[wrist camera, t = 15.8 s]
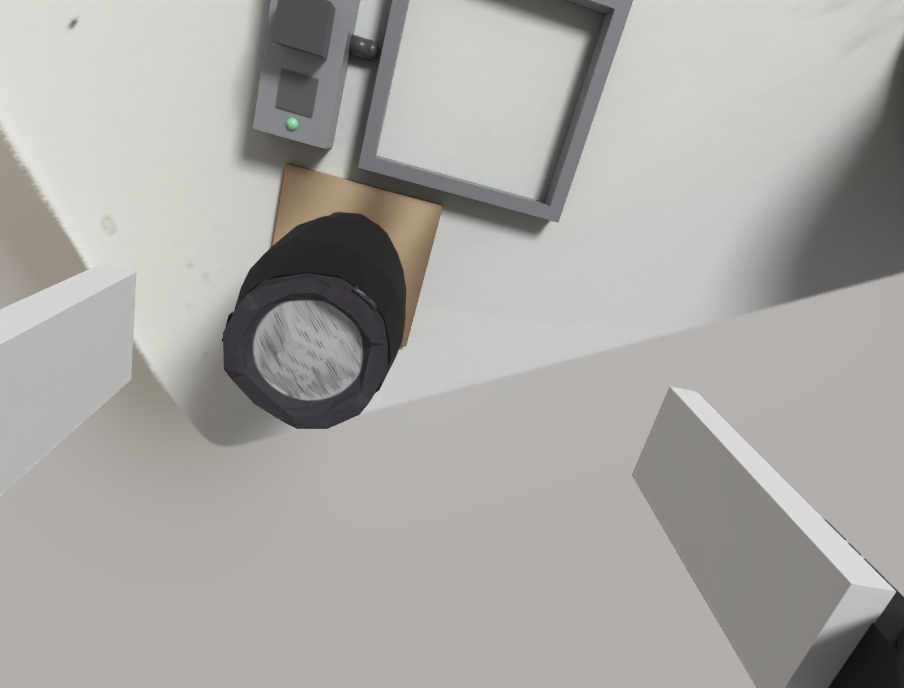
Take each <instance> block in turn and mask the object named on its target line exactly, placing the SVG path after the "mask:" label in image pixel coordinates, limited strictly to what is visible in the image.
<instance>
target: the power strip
mask: <svg viewBox="0 0 904 688" xmlns="http://www.w3.org/2000/svg"><path fill="white" fill-rule="evenodd" d="M359 3H360V0H271V1H270V8H269V16H268V23H267V30H266V37H265V44H264V52H263V59H262V66H261V73H260V80H259V88H258V95H257V102H256V109H255V116H254V124H253V129H255V130H259V131H262V132H266V133H269V134H273V135H277V136H280V137H284V138H288V139H291V140H295V141H298V142H302V143H306V144H309V145H313V146H316V147H320V148H324V149H328V148H331V147H333V141H334V136H335V131H336V125H337V120H338V115H339V109H340V104H341V99H342V93H343V88H344V83H345V77H346V72H347V67H348V61H349V56H350V54H349V45H350V40H351V36H352V35H354V29H355V24H356V19H357V13H358V8H359Z"/></svg>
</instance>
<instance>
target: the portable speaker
mask: <svg viewBox="0 0 904 688" xmlns="http://www.w3.org/2000/svg"><path fill="white" fill-rule="evenodd" d="M405 314H406V283H405V277H404V271H403V267H402V264H401V261H400V258H399V255H398V253H397V251H396V249H395V247H394V245H393V243H392V241H391V239H390V238H389V236H388V234H387V233H386V232H385V231H384V230H383V229H382V228H381V227H380V226H379V225H378V224H377V223H375V222H373V221H371V220H370V219H369V218H367V217H366V216H364V215H363V214H358V213H345V212H337V213H335V212H333V213H332V214H331V215H329V216H323V217H320V218H317V219H314V220H311V221H308V222H305V223H303V224H300V225H297V226H296V227H294V228H293V229H292V230H291V231H290V232H288V233H287V234H286V235H285V236H284V237H282V238H281V239H280V240H279V241H278V242H276V243H275V244H274V245H273V246H272V247H271V248H270V249H269V250H268V251H267V252H266V253H265V254H264V255H263V256H262V257H261V258H260V259H259V260H258V261H257V262H256V264H255V265H254V266H253V267H252V268H251V269H250V270H249V273H248V275H247V277H246V279H245V281H244V283H243V285H242V287H241V290H240V293H239V297H238V300H237V303H236V307H235V310H234V313H233V312H232V313H231V314H230V315H229V316H228V320H227V324H226V328H225V330H224V332H223V339H222V342H223V346H224V370H225V371H226V372H227V374H228V375H229V377H230V378H231V379H232V380H233V381H234V382H235V383H236V384H237V385H238V387H239V388H240V389H241V390H242V391H243V392H244V393H245V394H246V395H247V396H248V397H249V399H250V400H251V401H252V402H253V403H254V404H256V405H257V406H259V407H260V408H262V409H264V410H265V411H267V412H268V413H270V414H272V415H273V416H275V417H276V418H278V419H280V420H281V421H283V422H285V423H287V424H289V425H291V426H293V427H295V428H297V429H328V428H330V427H332V426H335V425H337V424H339V423H341V422H344V421H346V420H348V419H351V418H353V417H355V416H357V415H359V414H360V413H361V412H362V411H363V410H364V408H365V407H366V406H367V405H368V403H369V402H370V400H371V399H372V397H373V395H374V394H375V393H376V392H377V391H379V389H380V387H381V385H382V383H383V381H384V379H385V377H386V375H387V373H388V371H389V369H390V368H391V366H392V364H393V362H394V360H395V358H396V355H397V353H398V350H399V348H400V346H401V343H402V340H403V334H404V328H405Z"/></svg>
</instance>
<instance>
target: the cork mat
mask: <svg viewBox="0 0 904 688" xmlns="http://www.w3.org/2000/svg"><path fill="white" fill-rule="evenodd" d="M442 207H443V206H442V205H440V204H436V203H433V202H429V201H425V200H422V199H418V198H414V197H410V196H407V195H403V194H399V193H396V192H392V191H388V190H384V189H381V188H377V187H373V186H370V185H366V184H362V183H359V182H355V181H351V180H347V179H344V178H340V177H336V176H333V175H329V174H325V173H322V172H318V171H314V170H310V169H307V168H303V167H299V166H296V165H292V164H288V163H287V164H286V165H285V171H284V177H283V184H282V190H281V196H280V202H279V208H278V215H277V221H276V227H275V233H274V239H273V245H274V244H275V243H276V242H278V241H279V240H280V239H281V238H282V237H284V236H285V235H286V234H287V233H288V232H290V231H291V230H292V229H293V228H294V227H296V226H297V225H300V224H303V223H305V222H308V221H311V220H314V219H317V218H320V217H323V216H329V215H331V214H332V213H333V212H335V213H337V212H345V213H358V214H363V215H364V216H366V217H367V218H369V219H370V220H371V221H373V222H375V223H377V224H378V225H379V226H380V227H381V228H382V229H383V230H384V231H385V232H386V233H387V234H388V236H389V238H390V239H391V241H392V243H393V245H394V247H395V249H396V251H397V253H398V255H399V258H400V261H401V264H402V267H403V271H404V277H405V283H406V314H405V328H404V334H403V340H402V343H401V345H402V346H406V344H407V341H408V337H409V333H410V329H411V325H412V322H413V318H414V314H415V310H416V306H417V302H418V299H419V295H420V291H421V287H422V283H423V280H424V276H425V272H426V268H427V264H428V260H429V257H430V253H431V249H432V245H433V241H434V238H435V234H436V230H437V226H438V222H439V219H440V215H441V211H442Z"/></svg>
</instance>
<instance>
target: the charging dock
mask: <svg viewBox="0 0 904 688" xmlns="http://www.w3.org/2000/svg"><path fill="white" fill-rule="evenodd" d="M566 1H569V2H572V3H575V4H578V5H581V6H584V7H587V8H590V9H593V10H595V11H598V12H601V13H604V14H605V17H604V21H603V24H602V27H601V30H600V33H599V36H598V39H597V42H596V45H595V48H594V51H593V55H592V58H591V61H590V64H589V67H588V70H587V73H586V76H585V79H584V82H583V85H582V88H581V92H580V95H579V98H578V101H577V104H576V107H575V110H574V113H573V116H572V119H571V122H570V126H569V129H568V132H567V135H566V138H565V141H564V144H563V147H562V150H561V153H560V156H559V160H558V163H557V166H556V169H555V172H554V175H553V178H552V181H551V184H550V187H549V190H548V193H547V197H546V200H545V203H544V202H541V201H537V200H533V199H530V198H526V197H523V196H519V195H516V194H512V193H508V192H505V191H501V190H498V189H494V188H490V187H487V186H483V185H480V184H476V183H473V182H469V181H465V180H462V179H458V178H455V177H451V176H447V175H444V174H440V173H437V172H433V171H429V170H426V169H422V168H419V167H415V166H412V165H408V164H404V163H401V162H397V161H394V160H390V159H386V158H383V157H379V156H376V154H377V149H378V145H379V140H380V135H381V131H382V126H383V121H384V117H385V112H386V107H387V103H388V98H389V93H390V89H391V84H392V79H393V75H394V70H395V65H396V61H397V56H398V52H399V47H400V42H401V38H402V33H403V28H404V24H405V19H406V14H407V10H408V5H409V0H392V4H391V9H390V13H389V18H388V23H387V28H386V33H385V38H384V43H383V48H382V53H381V57H380V62H379V67H378V72H377V77H376V82H375V87H374V92H373V96H372V101H371V106H370V111H369V116H368V121H367V126H366V131H365V135H364V140H363V145H362V150H361V155H360V160H359V165H358V168H361V169H365V170H368V171H372V172H376V173H379V174H383V175H387V176H390V177H394V178H398V179H401V180H405V181H409V182H412V183H416V184H419V185H423V186H427V187H430V188H434V189H438V190H441V191H445V192H449V193H452V194H456V195H460V196H463V197H467V198H471V199H474V200H478V201H482V202H485V203H489V204H492V205H496V206H500V207H503V208H507V209H511V210H514V211H518V212H522V213H525V214H529V215H533V216H536V217H540V218H544V219H547V220H551V221H554V222H559V219H560V216H561V213H562V210H563V207H564V204H565V201H566V198H567V195H568V192H569V189H570V186H571V183H572V180H573V177H574V174H575V171H576V168H577V165H578V163H579V160H580V157H581V154H582V151H583V148H584V145H585V142H586V139H587V136H588V133H589V130H590V127H591V124H592V121H593V118H594V115H595V112H596V109H597V106H598V103H599V100H600V97H601V94H602V91H603V88H604V85H605V82H606V79H607V76H608V73H609V70H610V67H611V64H612V61H613V58H614V55H615V53H616V50H617V47H618V44H619V41H620V38H621V35H622V32H623V29H624V26H625V23H626V20H627V17H628V14H629V11H630V8H631V5H632V2H633V0H566ZM349 54H353V55H356V56H359V57H362V58H366V59H369V60H373V59H376V58H377V57H378V55H379V47H378V45H377V43H376V42H374V41H372V40H368V39H365V38H362V37H359V36H355V35H352V36H351V40H350V45H349Z"/></svg>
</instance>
